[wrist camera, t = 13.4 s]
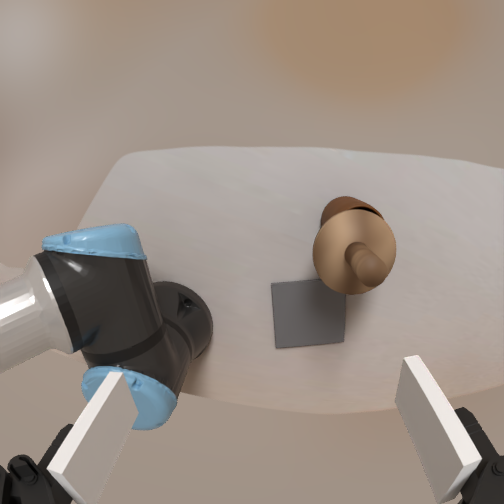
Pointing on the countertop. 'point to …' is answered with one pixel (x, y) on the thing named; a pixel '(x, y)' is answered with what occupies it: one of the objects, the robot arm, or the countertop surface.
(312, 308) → the mat
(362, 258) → the lid
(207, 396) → the countertop surface
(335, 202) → the mug
